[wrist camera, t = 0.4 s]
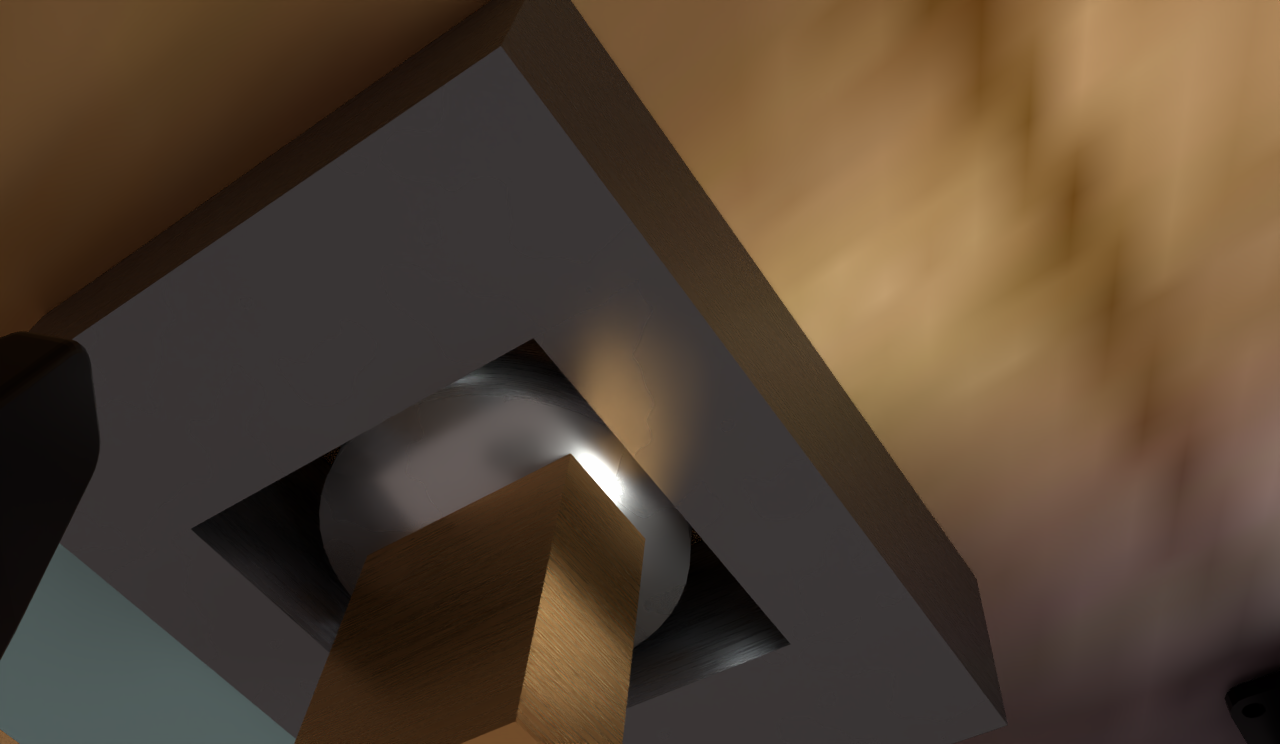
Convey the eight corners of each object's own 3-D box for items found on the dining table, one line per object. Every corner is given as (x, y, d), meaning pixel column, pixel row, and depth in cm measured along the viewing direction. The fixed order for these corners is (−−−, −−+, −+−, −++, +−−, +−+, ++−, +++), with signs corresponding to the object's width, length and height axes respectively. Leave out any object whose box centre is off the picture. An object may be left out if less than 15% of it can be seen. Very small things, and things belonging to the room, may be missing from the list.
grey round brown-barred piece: (760, 496, 25) (762, 880, 18) (501, 614, 28) (410, 989, 21) (562, 245, 22) (468, 584, 15) (292, 404, 25) (99, 757, 18)
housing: (976, 578, 26) (1007, 725, 23) (517, 757, 31) (489, 899, 28) (544, -37, 19) (500, 46, 16) (42, 316, 24) (-70, 435, 21)
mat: (488, 768, 32) (483, 788, 31) (228, 870, 35) (221, 888, 35) (49, 372, 25) (35, 388, 25) (-211, 547, 29) (-228, 564, 28)
